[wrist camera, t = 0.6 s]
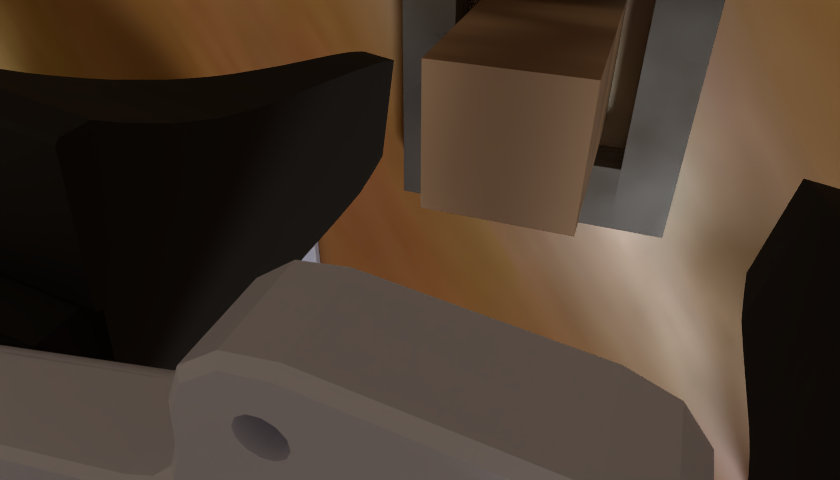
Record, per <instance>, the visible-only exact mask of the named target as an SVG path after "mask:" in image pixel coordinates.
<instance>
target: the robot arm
mask: <svg viewBox="0 0 840 480" xmlns="http://www.w3.org/2000/svg"><path fill="white" fill-rule="evenodd" d="M393 63H394V60H391V59H388V58H384V57H381V56H377V55H374V54H370V53H367V52H348V53H341V54H336V55H330V56H325V57H321V58H316V59H311V60H306V61H301V62H297V63H292V64H287V65H282V66H277V67H271V68H265V69H260V70H254V71H248V72H242V73H236V74H229V75H222V76H213V77H202V78H189V79H173V80H105V79H87V78H73V77H61V76H50V75H40V74H31V73H23V72H17V71H10V70H3V69H0V480H714V449H713V447H712V446H711V444H710V442H709V441H708V439H707V438H706V436H705V434H704V433H703V431H702V430H701V428H700V426H699V425H698V423H697V422H696V420H695V418H694V417H693V415H692V414H691V412H690V410H689V409H688V407H687V406H686V404H685V402H684V401H682V400H681V399H679V398H677V397H675V396H674V395H672V394H670V393H669V392H667V391H665V390H664V389H662V388H660V387H659V386H657V385H655V384H653V383H652V382H650V381H648V380H647V379H645V378H643V377H642V376H640V375H638V374H637V373H635V372H633V371H631V370H630V369H628V368H626V367H625V366H623V365H621V364H618V363H615V362H612V361H610V360H607V359H604V358H601V357H598V356H596V355H593V354H590V353H587V352H585V351H582V350H579V349H576V348H573V347H571V346H568V345H565V344H562V343H560V342H557V341H554V340H551V339H548V338H546V337H543V336H540V335H537V334H535V333H532V332H529V331H526V330H524V329H521V328H518V327H515V326H512V325H510V324H507V323H504V322H501V321H499V320H496V319H493V318H490V317H487V316H485V315H482V314H479V313H476V312H474V311H471V310H468V309H465V308H462V307H460V306H457V305H454V304H451V303H449V302H446V301H443V300H440V299H437V298H435V297H432V296H429V295H426V294H424V293H421V292H418V291H415V290H412V289H410V288H407V287H404V286H401V285H399V284H396V283H393V282H390V281H387V280H385V279H382V278H379V277H376V276H374V275H371V274H368V273H365V272H363V271H360V270H357V269H354V268H351V267H344V266H337V265H330V264H322V263H320V256H319V247H318V241H319V240H320V239H321V237H322V236H323V235H324V234H325V233H326V232H327V231H328V229H329V228H330V227H331V226H332V225H333V224H334V223H335V221H336V220H337V219H338V218H339V217H340V216H341V214H342V213H343V212H344V211H345V210H346V209H347V207H348V206H349V205H350V204H351V203H352V202H353V200H354V199H355V198H356V197H357V196H358V194H359V193H360V192H361V190H362V189H363V187H364V186H365V184H366V182H367V181H368V179H369V178H370V176H371V174H372V173H373V171H374V169H375V168H376V166H377V164H378V163H379V161H380V159H381V158H382V155H383V146H384V138H385V130H386V121H387V113H388V105H389V96H390V88H391V80H392V71H393ZM742 337H743V352H744V366H745V379H746V392H747V405H748V418H749V438H750V460H749V477H748V480H840V189H838V188H834V187H831V186H827V185H824V184H820V183H817V182H814V181H810V180H807V179H803V181H802V182H801V184H800V186H799V187H798V189H797V191H796V192H795V194H794V196H793V197H792V199H791V201H790V202H789V204H788V206H787V207H786V209H785V211H784V212H783V214H782V215H781V217H780V219H779V220H778V222H777V224H776V225H775V227H774V229H773V230H772V232H771V234H770V235H769V237H768V239H767V240H766V242H765V244H764V245H763V247H762V249H761V250H760V252H759V254H758V255H757V257H756V259H755V260H754V262H753V263H752V265H751V267H750V268H749V270H748V272H747V274H746V283H745V291H744V299H743V310H742Z"/></svg>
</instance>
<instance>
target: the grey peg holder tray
mask: <svg viewBox="0 0 840 480" xmlns="http://www.w3.org/2000/svg"><path fill="white" fill-rule="evenodd" d="M724 3H725V0H656V2H655V7H654V12H653V16H652V21H651V26H650V31H649V36H648V41H647V46H646V50H645V55H644V60H643V65H642V70H641V75H640V79H639V84H638V89H637V94H636V99H635V104H634V108H633V113H632V118H631V123H630V128H629V133H628V138H627V142H626V147H625V149H619V148H612V147H605V146H598V150H597V153H596V157H595V161H594V165H593V168H592V172H591V176H590V179H589V183H588V187H587V190H586V194H585V198H584V201H583V205H582V209H581V212H580V216H579V220H578V222H579V223H585V224H590V225H596V226H601V227H606V228H612V229H617V230H623V231H628V232H634V233H639V234H645V235H650V236H655V237H661V238H662V236H663V232H664V229H665V225H666V221H667V217H668V213H669V210H670V206H671V202H672V198H673V195H674V191H675V187H676V183H677V180H678V176H679V172H680V168H681V165H682V161H683V157H684V153H685V149H686V146H687V142H688V138H689V134H690V131H691V127H692V123H693V119H694V116H695V112H696V108H697V104H698V101H699V97H700V93H701V89H702V85H703V82H704V78H705V74H706V70H707V67H708V63H709V59H710V55H711V52H712V48H713V44H714V40H715V37H716V33H717V29H718V25H719V21H720V18H721V14H722V10H723V6H724ZM468 12H469V0H403V104H404V190H405V191H410V192H416V193H421V73H422V57H423V56H424V55H425V54H426V53H427V52H428V51H429V50H430V49H431V48H432V47H433V46H434V45H435V44H437V43H438V42H439V41H440V40H441V39H442V38H443V37H444V36H445V35H446V34H447V33H448V32H449V31H450V30H451V29H452V28H453V27H454V26H455V25H456V24H457V23H458V22H459V21H460V20H461V19H462V18H463V17H464V16H465V15H466V14H467V13H468Z"/></svg>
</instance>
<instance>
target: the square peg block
mask: <svg viewBox="0 0 840 480" xmlns="http://www.w3.org/2000/svg"><path fill="white" fill-rule="evenodd" d="M626 4H627V0H480V1H479V2H478V3H477V4H476V5H475V6H474V7H473V8H472V9H471V10H470V11H469V12H468V13H467V14H466V15H465V16H464V17H463V18H462V19H461V20H460V21H459V22H458V23H457V24H456V25H455V26H454V27H453V28H452V29H451V30H450V31H449V32H448V33H447V34H446V35H445V36H444V37H443V38H442V39H441V40H440V41H439V42H438V43H437V44H435V45H434V46H433V47H432V48H431V49H430V50H429V51H428V52H427V53H426V54H425V55H424V56H423V57H422V73H421V208H426V209H432V210H437V211H442V212H447V213H453V214H458V215H463V216H469V217H474V218H479V219H484V220H490V221H495V222H500V223H506V224H511V225H516V226H521V227H527V228H532V229H537V230H542V231H548V232H553V233H558V234H564V235H569V236H574V234H575V231H576V227H577V223H578V220H579V216H580V212H581V209H582V205H583V201H584V198H585V194H586V190H587V187H588V183H589V179H590V176H591V172H592V168H593V165H594V161H595V157H596V153H597V150H598V146H599V142H600V139H601V135H602V131H603V128H604V124H605V119H606V113H607V108H608V102H609V97H610V91H611V86H612V80H613V75H614V70H615V64H616V59H617V53H618V48H619V42H620V37H621V31H622V26H623V20H624V15H625V9H626Z"/></svg>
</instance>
